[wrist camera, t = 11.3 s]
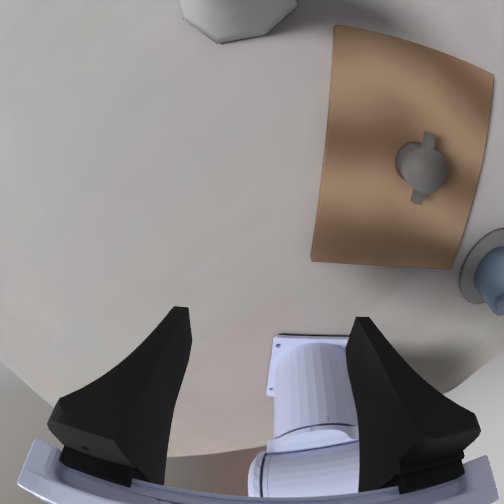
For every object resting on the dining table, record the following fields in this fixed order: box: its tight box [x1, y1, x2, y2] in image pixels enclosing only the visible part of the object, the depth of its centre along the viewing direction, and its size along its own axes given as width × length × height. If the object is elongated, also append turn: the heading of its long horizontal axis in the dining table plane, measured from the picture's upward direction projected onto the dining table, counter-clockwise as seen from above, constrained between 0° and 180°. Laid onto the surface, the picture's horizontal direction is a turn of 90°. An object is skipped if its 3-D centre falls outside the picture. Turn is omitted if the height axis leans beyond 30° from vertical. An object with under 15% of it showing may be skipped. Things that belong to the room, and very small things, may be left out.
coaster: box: [460, 228, 504, 304], centre depth 22 cm, size 8×8×1 cm
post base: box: [310, 25, 494, 269], centre depth 17 cm, size 16×12×3 cm
